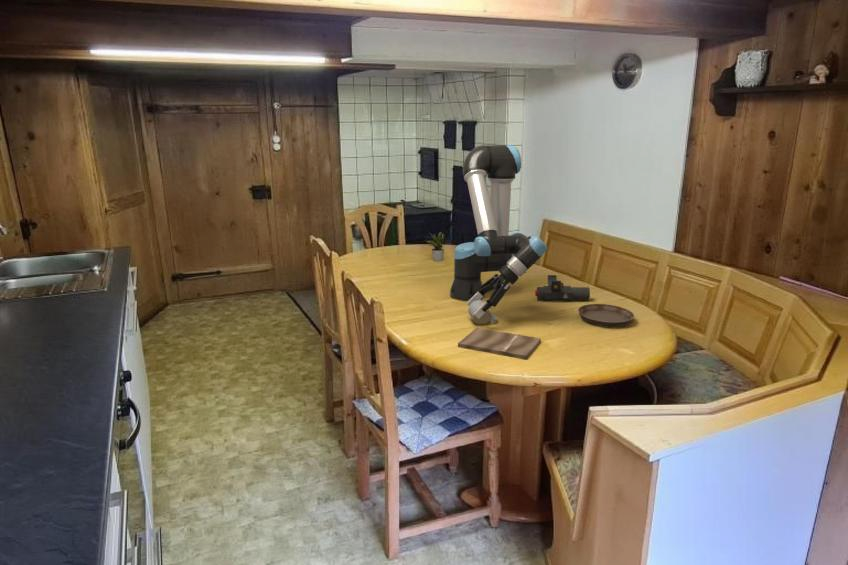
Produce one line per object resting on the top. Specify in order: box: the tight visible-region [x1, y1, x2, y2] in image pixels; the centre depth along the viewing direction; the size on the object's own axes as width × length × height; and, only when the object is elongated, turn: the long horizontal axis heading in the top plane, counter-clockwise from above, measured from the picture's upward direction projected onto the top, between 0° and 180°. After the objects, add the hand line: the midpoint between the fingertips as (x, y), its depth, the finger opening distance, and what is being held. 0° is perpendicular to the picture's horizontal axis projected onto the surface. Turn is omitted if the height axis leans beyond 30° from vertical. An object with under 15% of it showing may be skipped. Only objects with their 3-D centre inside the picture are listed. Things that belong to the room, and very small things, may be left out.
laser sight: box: [534, 274, 591, 302], centre depth 236 cm, size 10×22×10 cm, turn 88°
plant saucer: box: [577, 303, 635, 328], centre depth 213 cm, size 21×21×3 cm
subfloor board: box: [457, 327, 542, 360], centre depth 190 cm, size 24×17×1 cm
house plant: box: [426, 231, 448, 262], centre depth 308 cm, size 14×14×16 cm
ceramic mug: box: [468, 299, 499, 326], centre depth 211 cm, size 11×8×8 cm
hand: (472, 310), depth 210 cm, fingers open, 12 cm apart
